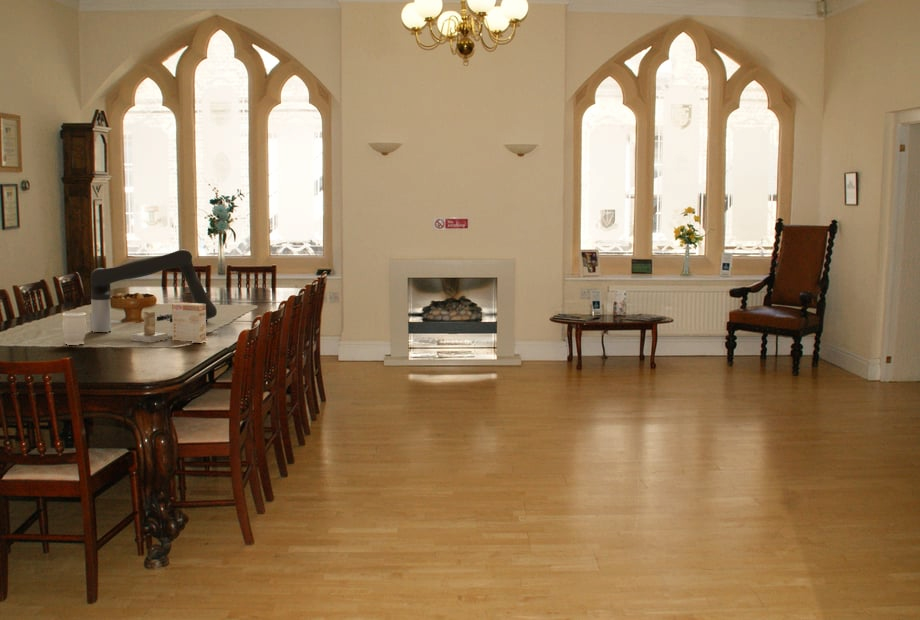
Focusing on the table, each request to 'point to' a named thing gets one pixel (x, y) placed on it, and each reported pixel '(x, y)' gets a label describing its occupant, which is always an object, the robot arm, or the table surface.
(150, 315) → the peg
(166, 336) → the socket block
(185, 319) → the coffeecake box
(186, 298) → the plant pot
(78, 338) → the jar
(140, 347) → the table surface
